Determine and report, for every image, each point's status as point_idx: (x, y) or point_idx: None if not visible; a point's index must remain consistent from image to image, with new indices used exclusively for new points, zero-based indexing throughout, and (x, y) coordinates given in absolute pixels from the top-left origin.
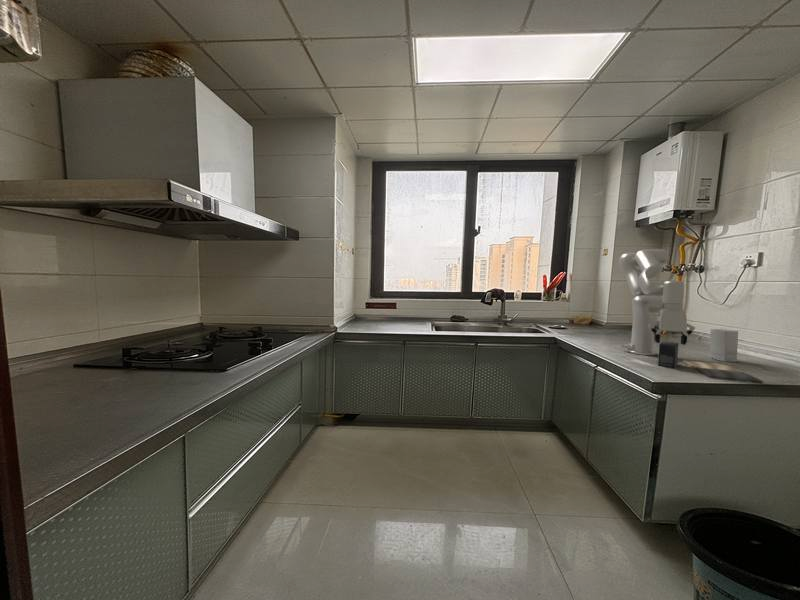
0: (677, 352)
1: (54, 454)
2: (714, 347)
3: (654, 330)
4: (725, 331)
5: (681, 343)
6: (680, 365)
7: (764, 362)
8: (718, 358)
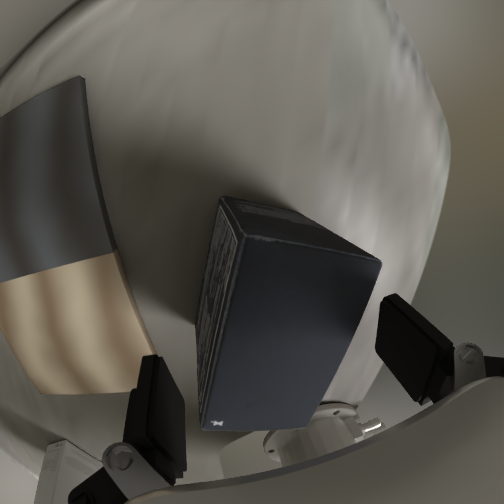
0: (200, 353)
1: None
2: None
3: (497, 372)
4: None
5: (178, 392)
6: (181, 305)
7: (21, 452)
8: (81, 454)
